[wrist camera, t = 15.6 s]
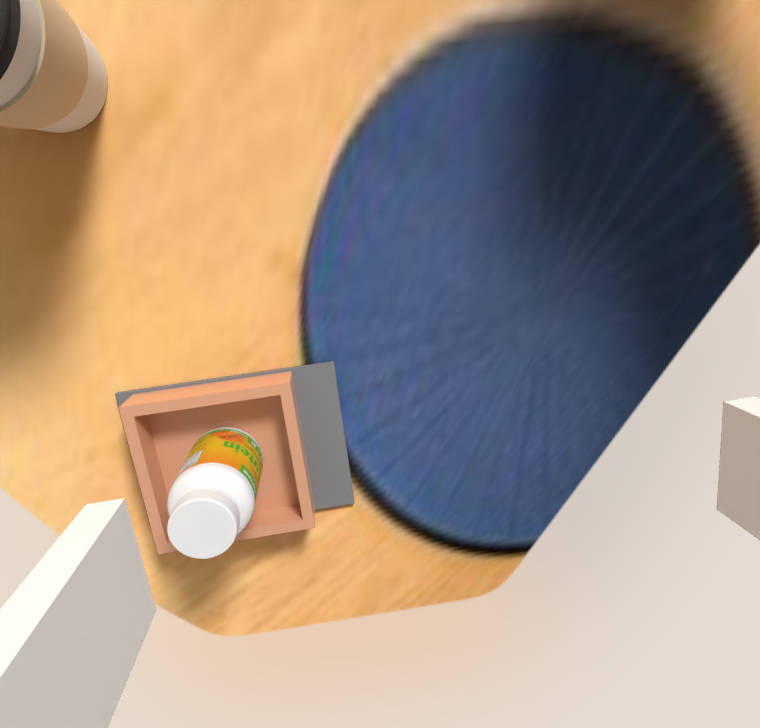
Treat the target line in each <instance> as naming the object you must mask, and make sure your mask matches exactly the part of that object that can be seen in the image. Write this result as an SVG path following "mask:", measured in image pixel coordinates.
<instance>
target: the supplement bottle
mask: <svg viewBox="0 0 760 728" xmlns="http://www.w3.org/2000/svg"><path fill="white" fill-rule="evenodd" d="M262 467H263V455H262V451H261V448H260V446H259V444H258V443H257V441H256V440H255V439H254V438H253V437H252V436H251V435H249V434H248V433H246V432H245V431H242V430H240V429H237V428H232V427H221V428H216V429H213V430H211V431H209V432H207V433H205V434H204V435H202V436H201V437H200V438H199V439H198V440H197V441H196V443H195V444H194V446H193V447H192V449H191V451H190V453H189V455H188V457H187V459H186V460H185V462H184V464H183V466H182V468H181V470H180V472H179V474H178V476H177V478H176V479H175V481H174V483H173V485H172V487H171V490H170V492H169V496H168V501H167V508H168V513H169V517H170V518H169V520H168V525H167V532H168V537H169V539H170V541H171V543H172V545H173V546H174V547H175V548H176V549H177V550H178V551H179V552H181V553H182V554H184V555H186V556H188V557H192V558H196V559H208V558H213V557H216V556H218V555H220V554H222V553H224V552H225V551H226V550H228V548H229V547H230V546H231V545H232V544H233V542H234V540H235V538H236V535H237V534H238V533H240V532H241V531H242V530H243V529H244V528H245V527H246V525H247V524H248V522H249V521H250V519H251V516H252V514H253V511H254V507H255V501H256V496H257V491H258V487H259V482H260V477H261V472H262Z"/></svg>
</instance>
